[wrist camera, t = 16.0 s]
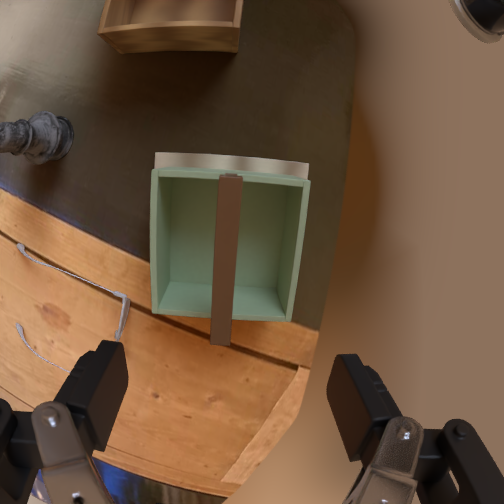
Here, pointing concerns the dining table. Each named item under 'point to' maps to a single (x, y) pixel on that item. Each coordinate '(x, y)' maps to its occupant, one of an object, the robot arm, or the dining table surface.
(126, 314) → the eyeglasses
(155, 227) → the top basket
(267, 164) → the placemat
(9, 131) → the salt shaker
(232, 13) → the brown wooden open box
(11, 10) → the dining table surface
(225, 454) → the dining table surface
